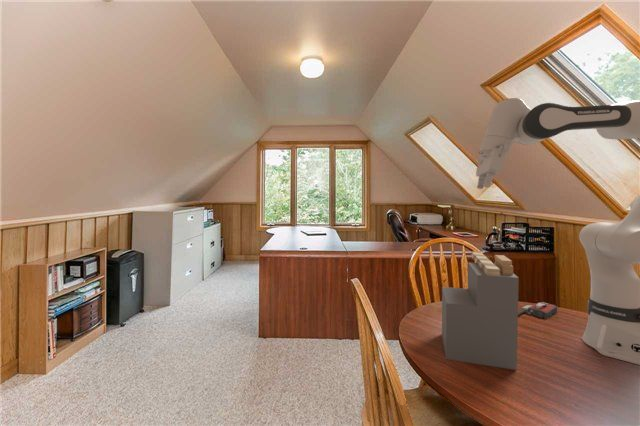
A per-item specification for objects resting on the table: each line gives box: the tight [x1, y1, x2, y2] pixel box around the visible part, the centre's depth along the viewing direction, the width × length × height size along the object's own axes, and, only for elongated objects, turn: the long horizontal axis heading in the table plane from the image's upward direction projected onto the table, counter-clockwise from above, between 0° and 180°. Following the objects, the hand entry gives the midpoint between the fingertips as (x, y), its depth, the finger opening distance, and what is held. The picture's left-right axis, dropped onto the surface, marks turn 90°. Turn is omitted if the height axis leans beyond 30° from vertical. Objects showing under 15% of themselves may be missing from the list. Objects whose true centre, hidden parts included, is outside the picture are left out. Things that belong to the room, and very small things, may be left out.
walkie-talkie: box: [518, 301, 558, 320], centre depth 116 cm, size 9×4×20 cm
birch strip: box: [470, 250, 500, 276], centre depth 92 cm, size 26×3×2 cm, turn 161°
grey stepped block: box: [441, 254, 520, 371], centre depth 89 cm, size 16×18×30 cm
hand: (482, 187), depth 99 cm, fingers open, 8 cm apart
